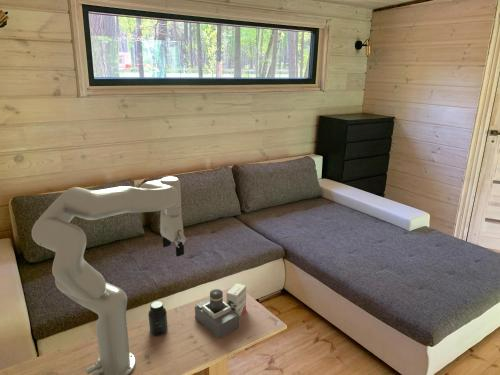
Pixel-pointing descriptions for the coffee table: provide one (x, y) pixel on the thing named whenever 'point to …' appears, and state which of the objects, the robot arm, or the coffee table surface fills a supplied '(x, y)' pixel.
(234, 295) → the ink box
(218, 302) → the lens
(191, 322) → the coffee table surface
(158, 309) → the supplement bottle
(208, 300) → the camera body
